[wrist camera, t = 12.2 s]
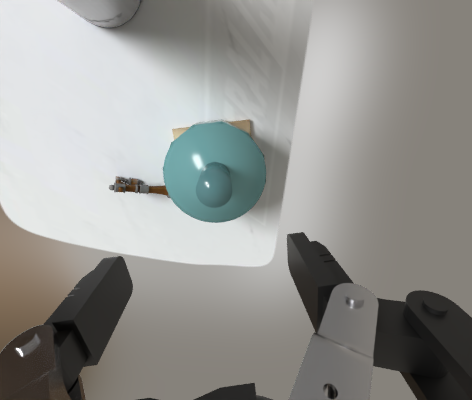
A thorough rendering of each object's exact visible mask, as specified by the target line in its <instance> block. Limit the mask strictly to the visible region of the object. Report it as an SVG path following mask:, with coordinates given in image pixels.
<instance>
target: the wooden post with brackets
mask: <svg viewBox="0 0 472 400" xmlns="http://www.w3.org/2000/svg"><path fill="white" fill-rule="evenodd" d="M122 181H123V182H124V180H122ZM123 182H121V178H120V177H116V182H115V183H114V185H110V186H109V189H110V190H114V192H124V193H125V191H127V192H135V193H138V192H139V193H147V194H148V193H157V194H163V195H167V197H168V198H171V197H170V196H169V194H168V191H167V189H166V186H148V185H141V184H142V182H141V181H138V179H131V178H129V180H127V181H126V180H125V183H123ZM126 183H127V184H129V185H127V184H126ZM138 185H139V186H138Z"/></svg>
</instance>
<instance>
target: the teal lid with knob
mask: <svg viewBox="0 0 472 400" xmlns="http://www.w3.org/2000/svg"><path fill="white" fill-rule="evenodd" d="M163 174H164V182H165V186H166V189H167V191H168V194H169V196H170V197H171V199H172V200H173V202H174V203H175V204H176V205H177V206H178V207H179V208H180V209H181V210H182V211H183V212H185V213H186V214H188V215H189V216H191V217H193V218H195V219H198V220H201V221H205V222H215V223H217V222H226V221H230V220H233V219H236V218H238V217H240V216H242V215H243V214H245V213H246V212H248V211H249V210H250V209H251V208H252V207H253V206H254V205H255V204H256V202H257V201H258V199H259V198H260V196H261V194H262V192H263V189H264V185H265V183H266V167H265V162H264V155H263V154H262V152H261V151H260V149H259V148H258V146H257V145H256V143H255V142H254V141H253V139H252V138H251V136H250V135H249V133H248V132H246V131H245V130H244V129H242V128H239V127H237V126H235V125H233V124H231V123H228V122H226V121H224V120H215V121H207V122H199V123H196V124H194V125H192V126H191V127H190V128H189V129H188V130H186V131H185V132H184V133H183V134H181V135H180V136H179V137H178V138H177V139H175V140H174V141H173V142H171V145H170V148H169V150H168V153H167V155H166V158H165V162H164V167H163Z"/></svg>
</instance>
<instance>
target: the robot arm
mask: <svg viewBox="0 0 472 400" xmlns="http://www.w3.org/2000/svg"><path fill="white" fill-rule="evenodd" d="M57 1H58V2H60V3H61V4H63V5H64V6H66V7H67V8H69V9H70V10H72V11H73V12H75V13H76V14H77V15H79V16H80V17H82V18H83V19H85V20H86V21H88V22H90V23H92V24H94V25H97V26H101V27H116V26H120V25H122V24H124V23H126V22H127V21H128V20H130V19H131V18H132V17H133V16H134V14H135V12H136V11H137V9H138V7H139V4H140V1H141V0H57ZM287 248H288V249H287V250H288V265H289V270H290V273H291V276H292V278H293V280H294V283H295V285H296V287H297V290H298V292H299V294H300V297H301V299H302V301H303V304H304V306H305V308H306V311H307V313H308V315H309V318H310V320H311V322H312V325H313V327H314V329H315V332H316V333H314V334H313V335H312V337H311V340H310V343H309V345H308V348H307V351H306V353H305V356H304V359H303V362H302V364H301V367H300V370H299V373H298V375H297V378H296V381H295V384H294V386H293V389H292V392H291V395H290V397H289V400H369V399H370V389H371V380H372V370H373V366H376V367H381V368H386V369H391V370H396V371H400V373H401V374H402V376H403V377H404V379H405V381H406V382H407V384H408V385H409V387H410V389H411V390H412V391H413V393H414V395H415V396H416V398H417V400H472V318H471V317H470V316H469V315H468V314H467V313H466V312H464V311H463V310H462V309H461V308H460V307H459V306H458V305H456V304H455V303H454V302H452V301H451V300H449V299H448V298H446V297H444V296H441V295H439V294H436V293H433V292H429V291H413V292H411V293H409V294H408V295H407V297H406V302H401V301H393V300H385V299H379V298H376V296H375V295H374V294H373V293H372V292H371V291H369V290H368V289H367V288H365V287H363V286H360V285H357V284H354V283H353V282H352V280H351V279H350V278H349V277H348V275H347V274H346V273H345V271H344V270H343V269H342V268H341V266H340V265H339V264H338V262H337V261H335V258H334V257H333V256H332V255H331V253H330V252H329V251H328V249H327V248H326V247H325V246H324V245H322V244H320V243H319V242H317V241H312V242H310V241H309V240H308V238H307V236H306V235H305V234H304V233H303V232H301V233H293V234H288V235H287ZM132 290H133V284H132V280H131V277H130V275H129V272H128V269H127V266H126V263H125V261H124V259H123V257H121V256H118V257H111V258H104V259H103V260H102V261H101V262H100V263H99V264H98V266H97V267H96V268H95V269H94V270H93V271H91V272H90V273H89V274H87V275H86V276H85V277H83V278H82V279H81V280H80V281H79V283H78V284H77V285H76V286H75V287H74V290H72V291H71V292H70V294H68V297H66V298H65V300H63V302H62V303H61V304H60V305H59V306H58V308H57V309H56V310H55V311H54V313H53V314H52V315H51V316H50V318H49V319H48V320H47V321H46V322H45V323H44V324H43V325H39V326H35V327H33V328H30V329H28V330H26V331H25V332H23V333H21V334H20V335H18V336H17V337H15V338H14V339H13V340H12V341H11V342H10V343H8V344H7V345H6V347H5V348H4V349H3V350H2V351H1V353H0V400H86V399H85V393H84V388H83V382H82V378H81V376H80V375H79V374H80V372H81V370H82V368H83V367H85V366H92V365H97V364H98V362H99V360H100V358H101V356H102V354H103V351H104V349H105V347H106V345H107V344H108V341H109V339H110V337H111V335H112V333H113V331H114V329H115V327H116V325H117V323H118V321H119V319H120V317H121V315H122V313H123V311H124V309H125V307H126V305H127V303H128V301H129V299H130V297H131V294H132ZM138 400H157V399H152V398H146V399H138ZM194 400H272V399H269V398H266V397H263V396H258V395H256V392H255V384H254V383H250V384H243V385H236V386H229V387H223V388H219V389H217V390H214V391H212V392H210V393H208V394H205V395H203V396H201V397H199V398H197V399H194Z"/></svg>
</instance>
